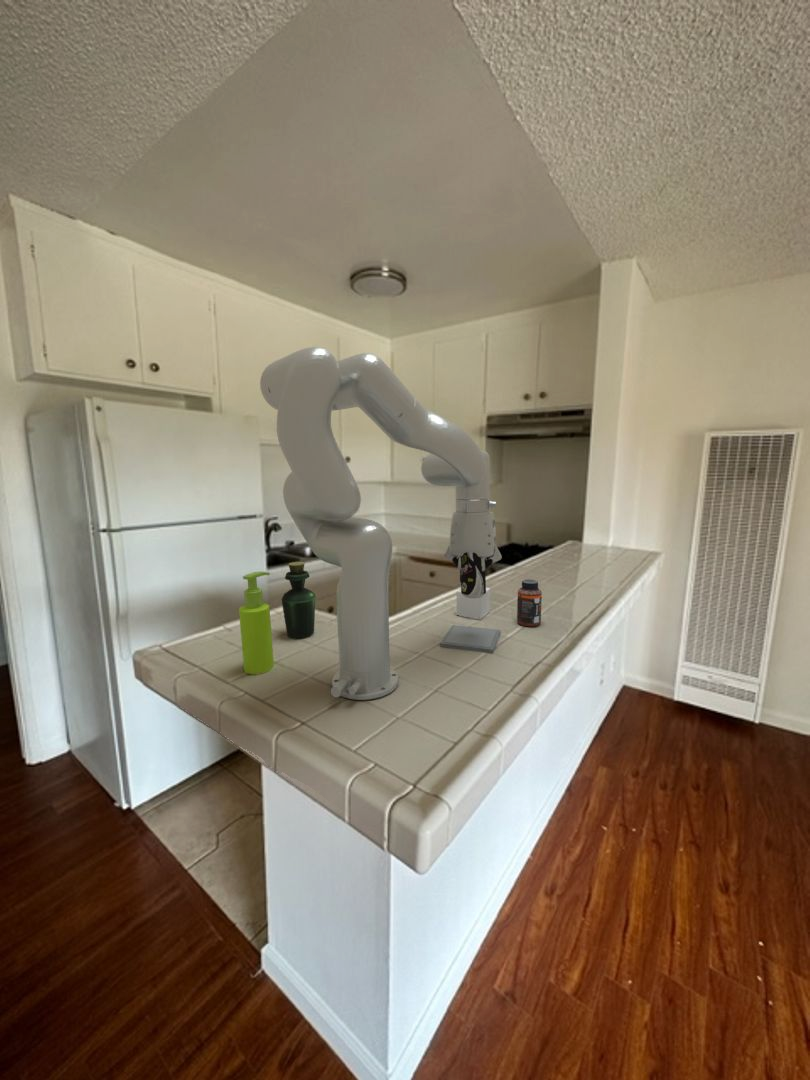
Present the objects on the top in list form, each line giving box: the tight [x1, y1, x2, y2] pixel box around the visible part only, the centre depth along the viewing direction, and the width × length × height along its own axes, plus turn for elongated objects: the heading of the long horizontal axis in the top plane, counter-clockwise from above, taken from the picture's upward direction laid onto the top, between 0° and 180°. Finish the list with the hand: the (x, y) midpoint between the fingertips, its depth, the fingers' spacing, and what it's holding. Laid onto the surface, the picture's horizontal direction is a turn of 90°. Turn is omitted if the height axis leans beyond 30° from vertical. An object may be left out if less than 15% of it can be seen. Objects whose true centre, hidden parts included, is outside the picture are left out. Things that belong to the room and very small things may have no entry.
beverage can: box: [460, 552, 487, 598], centre depth 101 cm, size 6×6×12 cm
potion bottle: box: [281, 561, 316, 640], centre depth 107 cm, size 8×8×18 cm
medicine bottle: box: [456, 587, 491, 620], centre depth 120 cm, size 7×7×12 cm
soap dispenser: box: [238, 571, 275, 675], centre depth 90 cm, size 6×7×20 cm
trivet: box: [439, 624, 502, 654], centre depth 103 cm, size 12×12×1 cm
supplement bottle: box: [516, 578, 543, 628], centre depth 112 cm, size 6×6×11 cm
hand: (472, 585), depth 101 cm, fingers closed on beverage can, 3 cm apart
